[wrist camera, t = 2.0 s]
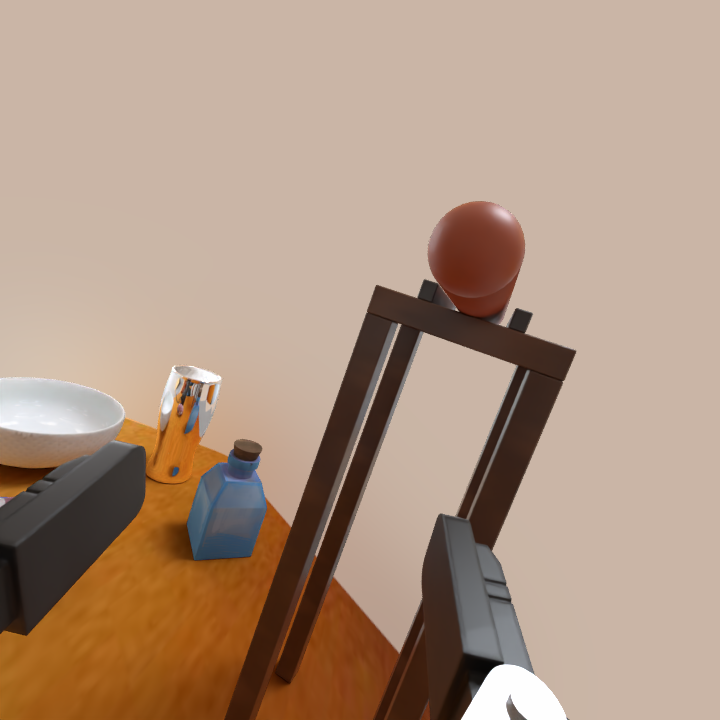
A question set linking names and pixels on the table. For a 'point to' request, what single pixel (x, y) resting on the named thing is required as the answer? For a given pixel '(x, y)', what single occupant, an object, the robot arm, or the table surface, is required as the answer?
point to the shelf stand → (479, 505)
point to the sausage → (477, 258)
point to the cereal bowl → (53, 421)
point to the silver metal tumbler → (182, 422)
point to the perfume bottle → (228, 506)
